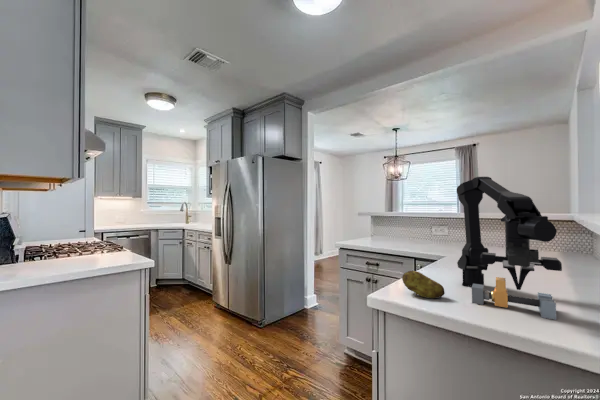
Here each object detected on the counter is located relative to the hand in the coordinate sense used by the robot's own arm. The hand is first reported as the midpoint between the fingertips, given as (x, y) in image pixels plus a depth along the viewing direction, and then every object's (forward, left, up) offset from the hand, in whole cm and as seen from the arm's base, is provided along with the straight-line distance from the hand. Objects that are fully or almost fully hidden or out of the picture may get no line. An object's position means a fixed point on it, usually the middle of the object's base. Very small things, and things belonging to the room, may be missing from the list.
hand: (518, 289), depth 82 cm
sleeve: (-4, 0, -6) cm, 7 cm away
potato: (-26, -4, -6) cm, 27 cm away
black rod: (-2, 0, -4) cm, 5 cm away
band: (-6, 0, -6) cm, 8 cm away
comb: (+6, 0, -6) cm, 8 cm away
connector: (-10, 0, -6) cm, 12 cm away
